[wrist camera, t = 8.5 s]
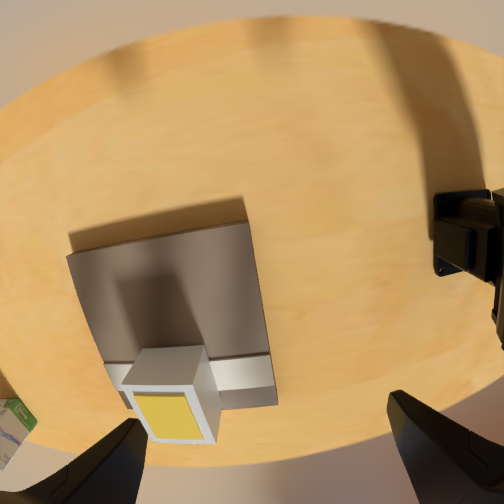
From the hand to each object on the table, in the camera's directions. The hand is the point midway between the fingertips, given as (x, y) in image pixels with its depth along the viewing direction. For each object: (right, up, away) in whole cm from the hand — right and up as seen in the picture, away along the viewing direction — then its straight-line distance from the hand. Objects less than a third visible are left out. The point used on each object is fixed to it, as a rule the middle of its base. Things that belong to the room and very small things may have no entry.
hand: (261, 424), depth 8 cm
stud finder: (-6, -4, +12) cm, 14 cm away
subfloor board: (-6, 0, +13) cm, 14 cm away
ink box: (-36, -18, +18) cm, 44 cm away
